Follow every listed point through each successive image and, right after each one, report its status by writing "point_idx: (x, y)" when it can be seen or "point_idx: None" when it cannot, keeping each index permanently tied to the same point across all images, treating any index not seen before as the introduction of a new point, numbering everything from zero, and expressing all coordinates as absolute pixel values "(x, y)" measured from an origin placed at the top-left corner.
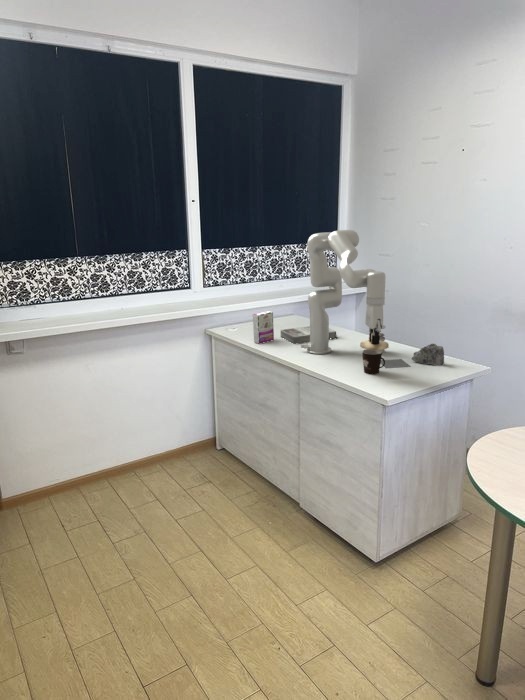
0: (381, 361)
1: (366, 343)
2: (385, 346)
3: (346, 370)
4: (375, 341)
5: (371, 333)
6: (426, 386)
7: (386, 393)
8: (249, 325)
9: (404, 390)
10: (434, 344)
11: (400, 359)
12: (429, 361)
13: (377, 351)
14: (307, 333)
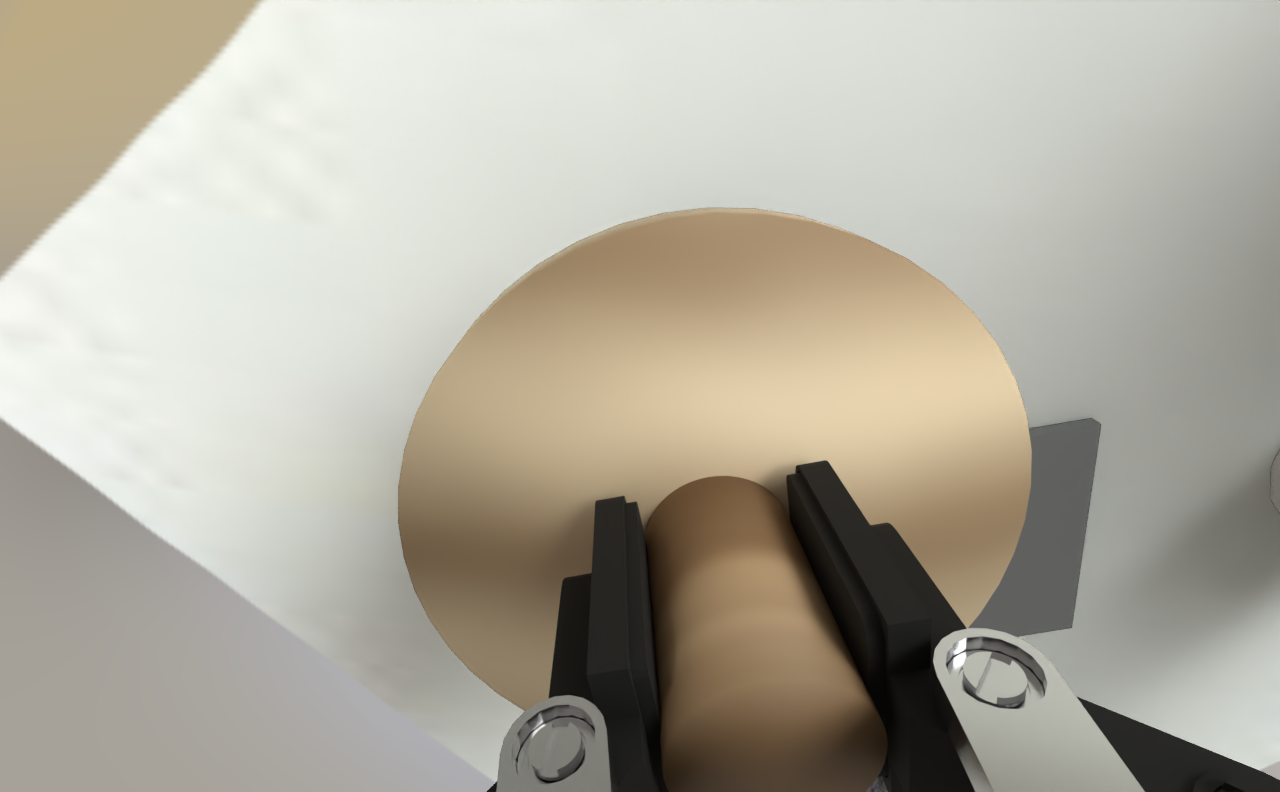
0: (1050, 460)
1: (751, 379)
2: (508, 693)
3: (852, 6)
4: (564, 608)
5: (799, 684)
6: (377, 680)
7: (108, 376)
8: None
9: (240, 529)
10: None
11: (1059, 619)
12: None
13: None
14: None
